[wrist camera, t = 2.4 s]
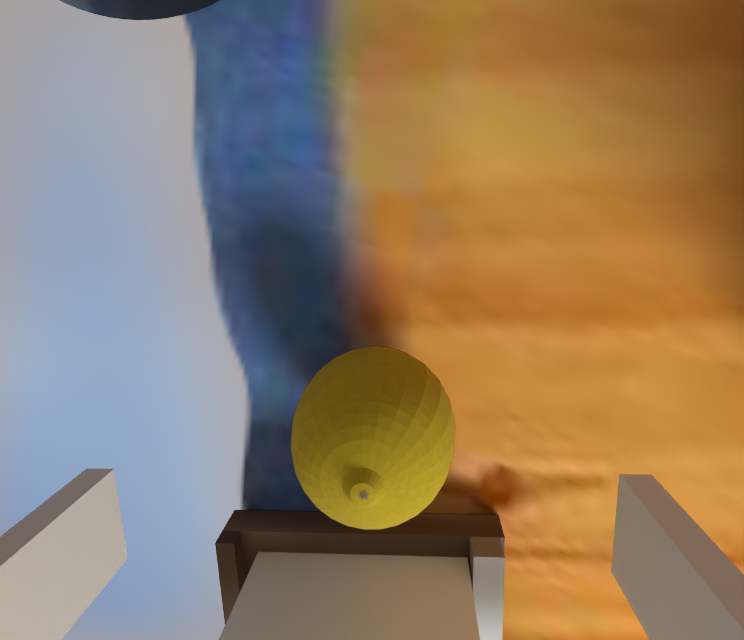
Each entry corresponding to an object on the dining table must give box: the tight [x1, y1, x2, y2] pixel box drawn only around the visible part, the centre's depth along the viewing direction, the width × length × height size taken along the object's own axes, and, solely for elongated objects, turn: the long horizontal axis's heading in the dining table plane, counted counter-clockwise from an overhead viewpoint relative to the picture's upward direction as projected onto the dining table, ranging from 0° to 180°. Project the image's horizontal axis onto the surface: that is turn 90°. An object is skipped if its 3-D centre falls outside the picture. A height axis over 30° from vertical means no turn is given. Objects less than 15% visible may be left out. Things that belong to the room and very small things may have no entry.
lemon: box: [291, 346, 455, 529], centre depth 17 cm, size 6×6×8 cm
